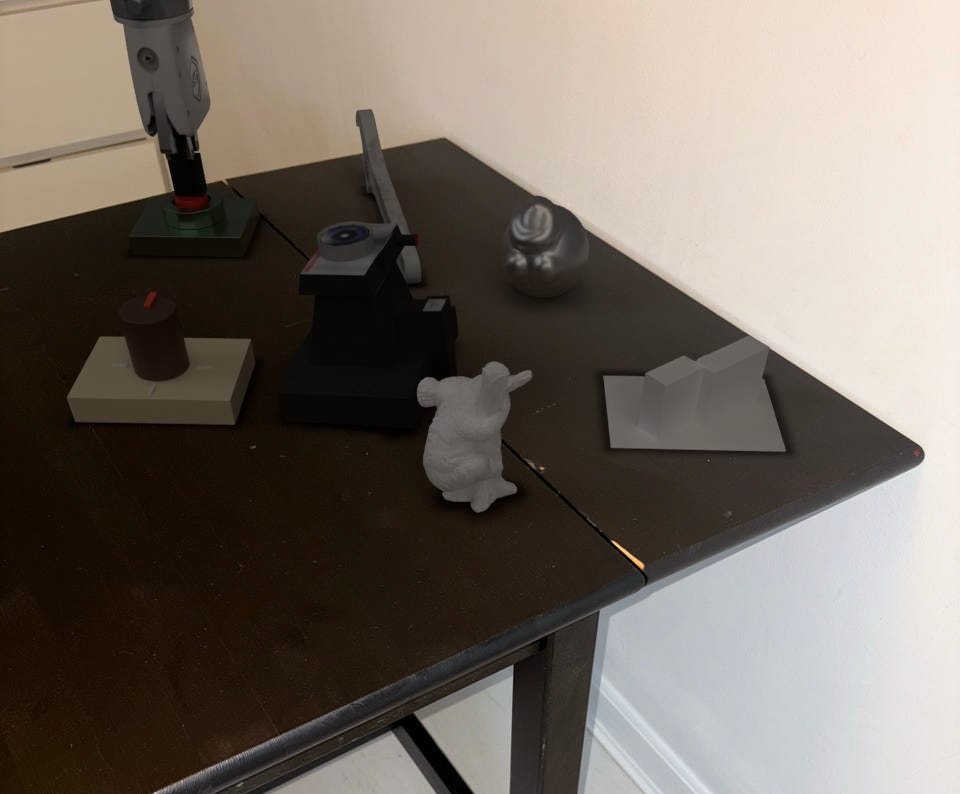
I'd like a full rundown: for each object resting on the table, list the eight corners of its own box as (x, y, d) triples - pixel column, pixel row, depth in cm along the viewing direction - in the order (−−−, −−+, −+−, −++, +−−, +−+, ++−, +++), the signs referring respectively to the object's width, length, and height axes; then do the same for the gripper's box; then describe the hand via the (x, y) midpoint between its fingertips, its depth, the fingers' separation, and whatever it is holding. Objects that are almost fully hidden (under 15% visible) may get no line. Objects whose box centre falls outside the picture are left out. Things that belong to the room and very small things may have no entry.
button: (173, 217, 107) (169, 200, 106) (180, 202, 109) (177, 186, 108) (206, 217, 107) (203, 201, 106) (213, 203, 109) (210, 187, 108)
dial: (182, 382, 85) (167, 321, 81) (127, 380, 86) (109, 319, 81) (195, 352, 89) (181, 292, 84) (142, 351, 89) (126, 290, 85)
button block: (133, 255, 107) (124, 219, 104) (156, 215, 114) (148, 179, 111) (243, 257, 107) (237, 220, 104) (260, 216, 113) (254, 181, 111)
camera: (313, 190, 87) (477, 190, 84) (343, 339, 97) (491, 344, 94) (245, 274, 76) (430, 278, 73) (287, 431, 87) (451, 440, 83)
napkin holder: (763, 377, 91) (777, 321, 87) (788, 451, 83) (804, 393, 79) (601, 375, 91) (607, 318, 87) (611, 449, 83) (618, 390, 79)
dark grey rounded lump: (478, 286, 103) (479, 189, 95) (554, 265, 106) (560, 169, 99) (525, 325, 97) (529, 225, 90) (603, 301, 101) (613, 202, 93)
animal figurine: (534, 478, 81) (542, 347, 72) (514, 530, 76) (520, 397, 67) (435, 461, 82) (431, 330, 73) (411, 511, 78) (402, 378, 69)
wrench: (405, 312, 104) (358, 167, 121) (422, 310, 105) (372, 165, 122) (403, 242, 98) (353, 99, 115) (421, 240, 98) (369, 98, 115)
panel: (75, 422, 86) (65, 395, 84) (107, 360, 92) (99, 334, 91) (235, 425, 86) (229, 398, 84) (255, 362, 92) (250, 337, 90)
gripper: (171, 22, 88) (211, 224, 102) (206, -24, 98) (239, 166, 112) (88, 21, 88) (139, 223, 102) (131, -25, 98) (173, 165, 112)
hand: (191, 193), depth 107 cm, fingers closed
